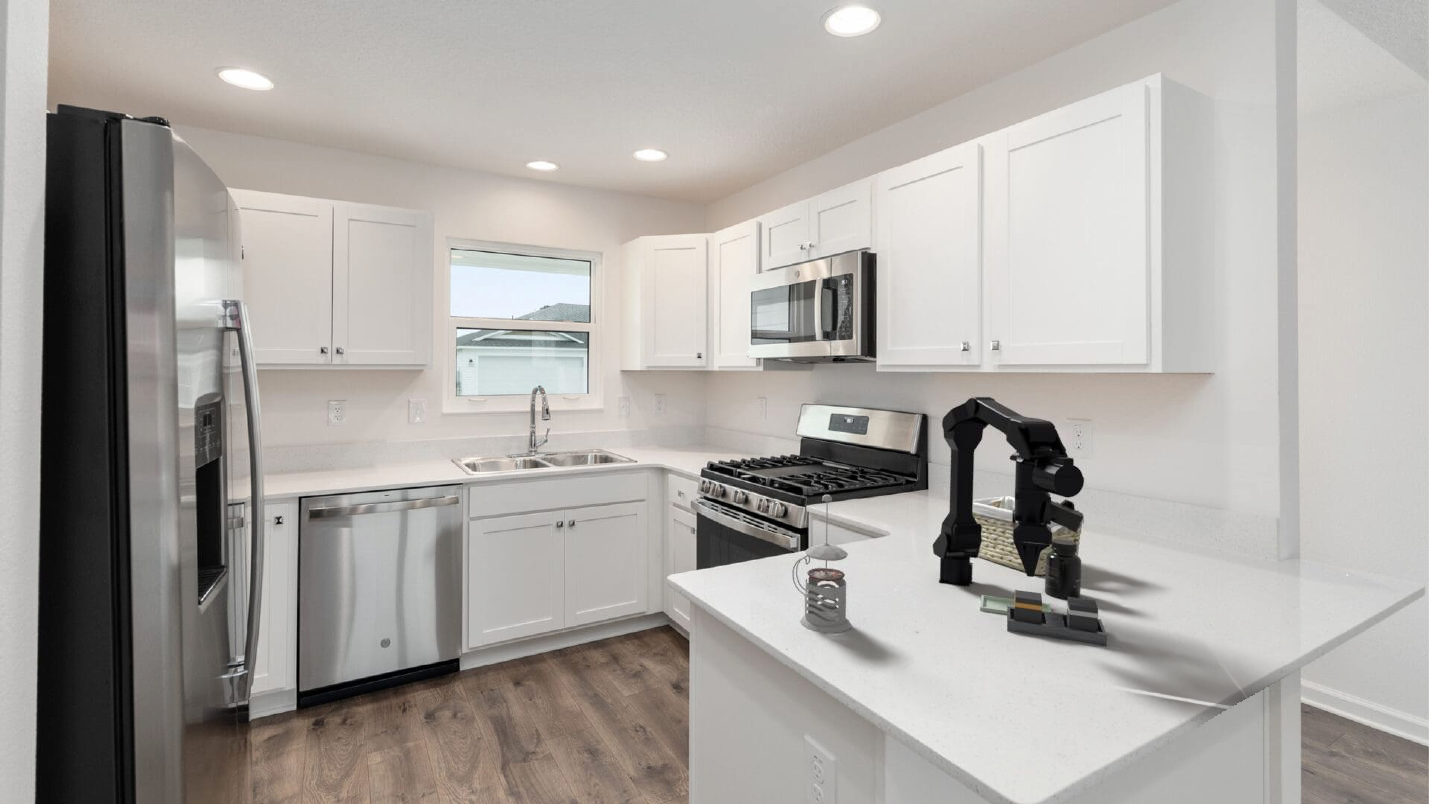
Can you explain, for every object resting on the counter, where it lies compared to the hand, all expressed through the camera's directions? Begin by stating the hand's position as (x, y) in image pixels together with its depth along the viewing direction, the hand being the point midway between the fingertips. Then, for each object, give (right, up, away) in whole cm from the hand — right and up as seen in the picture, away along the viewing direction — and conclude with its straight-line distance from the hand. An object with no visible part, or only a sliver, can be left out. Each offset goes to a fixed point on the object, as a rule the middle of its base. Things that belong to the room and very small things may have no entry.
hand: (1029, 569), depth 123 cm
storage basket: (+19, -10, +45) cm, 50 cm away
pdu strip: (+4, -12, -1) cm, 12 cm away
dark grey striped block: (0, -11, +1) cm, 11 cm away
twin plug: (+8, -11, -3) cm, 14 cm away
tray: (+2, -11, +10) cm, 15 cm away
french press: (-39, -11, +4) cm, 41 cm away
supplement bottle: (+16, -11, +19) cm, 27 cm away
